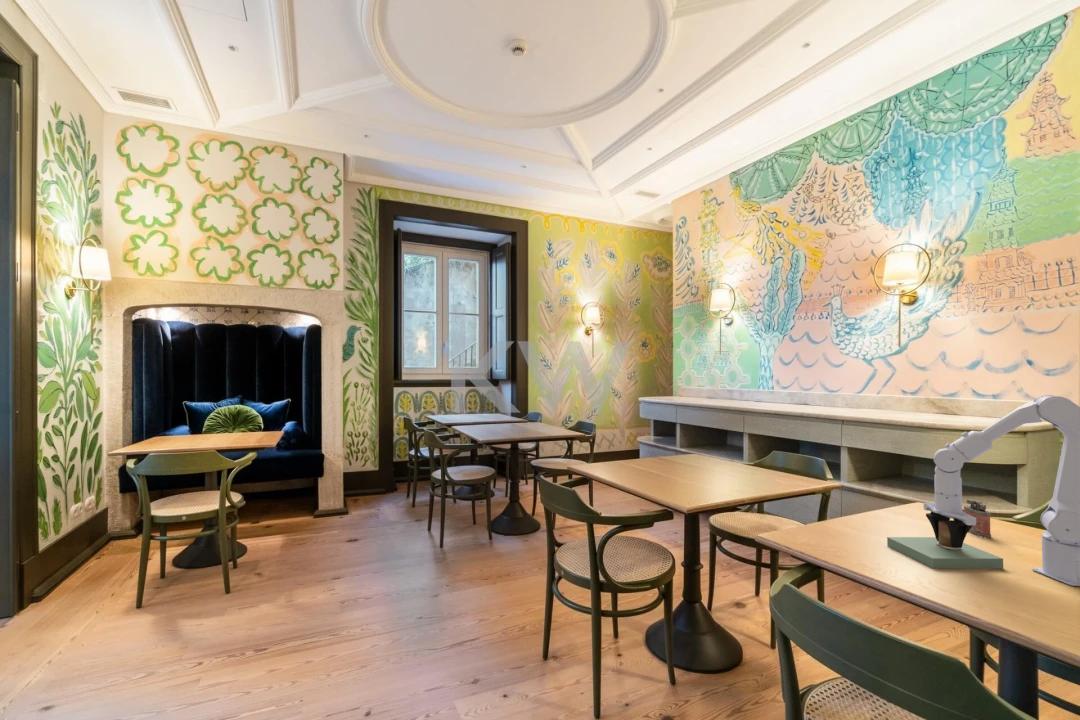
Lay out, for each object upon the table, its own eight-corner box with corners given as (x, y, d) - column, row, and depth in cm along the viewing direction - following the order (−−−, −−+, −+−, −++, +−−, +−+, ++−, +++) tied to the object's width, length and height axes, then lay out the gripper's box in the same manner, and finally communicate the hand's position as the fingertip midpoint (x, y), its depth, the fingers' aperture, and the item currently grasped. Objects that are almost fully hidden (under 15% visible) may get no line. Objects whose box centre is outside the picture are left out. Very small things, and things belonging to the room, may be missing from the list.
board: (1003, 568, 123) (1003, 558, 123) (932, 568, 123) (932, 558, 123) (949, 546, 139) (949, 537, 139) (887, 545, 139) (887, 537, 139)
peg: (965, 559, 129) (964, 525, 129) (948, 559, 129) (948, 525, 129) (950, 553, 134) (949, 520, 134) (934, 553, 134) (933, 520, 134)
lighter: (994, 538, 146) (994, 504, 147) (983, 538, 147) (982, 504, 147) (971, 529, 154) (971, 497, 155) (960, 529, 155) (960, 497, 155)
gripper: (912, 487, 139) (913, 535, 139) (956, 500, 125) (957, 554, 124) (937, 487, 139) (938, 535, 139) (983, 500, 125) (984, 554, 124)
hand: (948, 544), depth 131 cm, fingers closed on peg, 4 cm apart
